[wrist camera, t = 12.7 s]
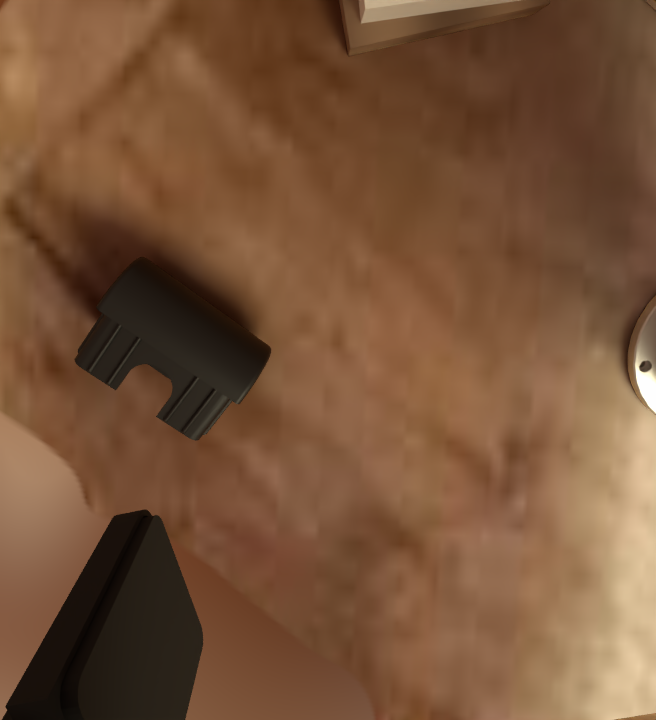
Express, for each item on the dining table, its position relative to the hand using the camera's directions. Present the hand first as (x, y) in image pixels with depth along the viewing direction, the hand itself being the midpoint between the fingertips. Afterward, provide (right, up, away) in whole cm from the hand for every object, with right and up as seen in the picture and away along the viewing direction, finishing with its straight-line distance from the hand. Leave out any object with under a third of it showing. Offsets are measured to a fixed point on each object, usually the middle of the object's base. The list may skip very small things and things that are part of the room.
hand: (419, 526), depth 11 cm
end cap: (-11, +5, +31) cm, 33 cm away
